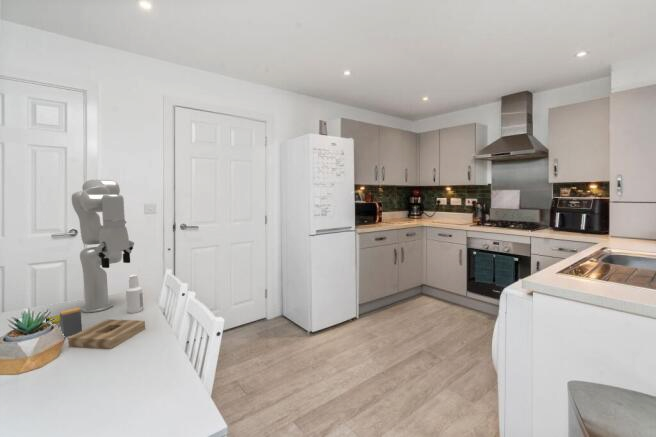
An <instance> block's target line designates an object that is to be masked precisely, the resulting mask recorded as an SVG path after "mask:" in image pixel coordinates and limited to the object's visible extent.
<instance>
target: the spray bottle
mask: <svg viewBox="0 0 656 437" xmlns="http://www.w3.org/2000/svg"><path fill="white" fill-rule="evenodd" d="M128 278H129V280H128V288H127V289H126V290H125V295H126V296H125V297H126V312H127V313H129V314H135V313H139V312H140V313H141V312H142V311H143V310H144V301H143V300H144V299H143V298H144V297H143V288H142V287H141V286H139V278H138V274H130V275H129V277H128Z"/></svg>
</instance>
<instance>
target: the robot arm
mask: <svg viewBox="0 0 656 437" xmlns="http://www.w3.org/2000/svg"><path fill="white" fill-rule="evenodd" d="M120 191H121V188H120V185H119V183H118V182H117V181H115V180H112V179H89V180H86V181H85V182H83V184H82V191H81V190H80V191H76V192H73V193H72V195H71V205H72V207H73V208H72V209H74V211H75V213H76V215H77V217H78V222H79V229H80V237H81V241H82V244H84V245H87V246H88V245H89V246H91V245H94V247H87V248H84V249H82V250H81V251H80V253H79V259H80V264H81V269H82V274H83V288H84V290H83V291H84V302H85V303H84V304H85V305H84V306H83V307H82V308H81V313H82V312H83V313H97V312H102V311H105V310H108V309H110V308H112V307H113V303H112V302H111V301H110V302H109V291H108V290H109V289H108V275H107V272H106V270H104V269H109V268H110V265H112V264H117V263H120V262H121V261H122V263H123V264H130V263H131V254H132V251H133V249H134V245H135V242H134V241H132V240H129V234H128V229H127V226H126V224H127V221H126V220H125V219H126V218H125V200H124V196H123V195H121V194H120ZM98 213H102V224H101V217H100V215H99V214H98ZM95 245H97V246H95Z"/></svg>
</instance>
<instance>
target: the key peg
mask: <svg viewBox="0 0 656 437" xmlns="http://www.w3.org/2000/svg"><path fill="white" fill-rule="evenodd" d="M59 315H60V324H61V327H60V332H61V331H62V333H63V334H64V336H65V337H64V338H66V337H67V338H68V337H70V336H73V335H75V334H77V333H79V332H81V331H83V325H82V324H83V323H82V322H83V321H82V308H80V307H77V306H76V307H73V308H68V309H64V310H59Z"/></svg>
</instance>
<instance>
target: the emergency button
mask: <svg viewBox="0 0 656 437" xmlns="http://www.w3.org/2000/svg"><path fill="white" fill-rule="evenodd" d="M54 318H57V319H56V320H54V321H52V322H51V323H52V324H56V325H57V326H58V328H61V324H60V314H59V315H53V316H49V317H47V318H46V322H47V321H50V320H51V319H54Z"/></svg>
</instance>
